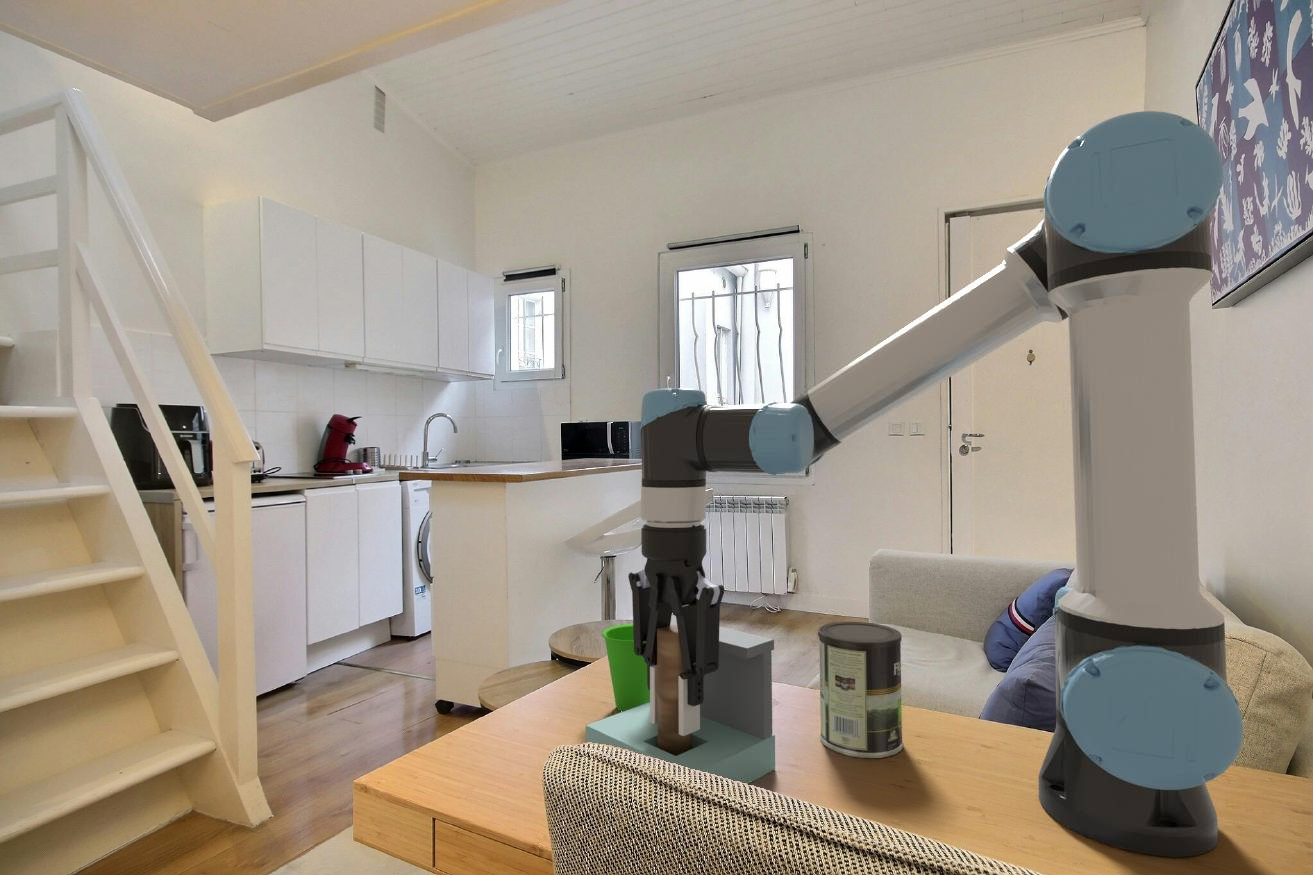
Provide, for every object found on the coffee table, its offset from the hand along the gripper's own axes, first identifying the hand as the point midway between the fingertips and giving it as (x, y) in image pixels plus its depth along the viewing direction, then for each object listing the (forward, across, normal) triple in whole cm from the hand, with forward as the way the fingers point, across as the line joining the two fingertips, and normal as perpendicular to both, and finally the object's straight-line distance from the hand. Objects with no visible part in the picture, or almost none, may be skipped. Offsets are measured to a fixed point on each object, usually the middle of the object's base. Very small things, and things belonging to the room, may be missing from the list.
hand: (674, 725), depth 80 cm
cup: (+6, +19, -10) cm, 22 cm away
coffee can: (+6, -10, -24) cm, 26 cm away
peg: (+3, 0, 0) cm, 3 cm away
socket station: (+6, +2, -2) cm, 7 cm away
